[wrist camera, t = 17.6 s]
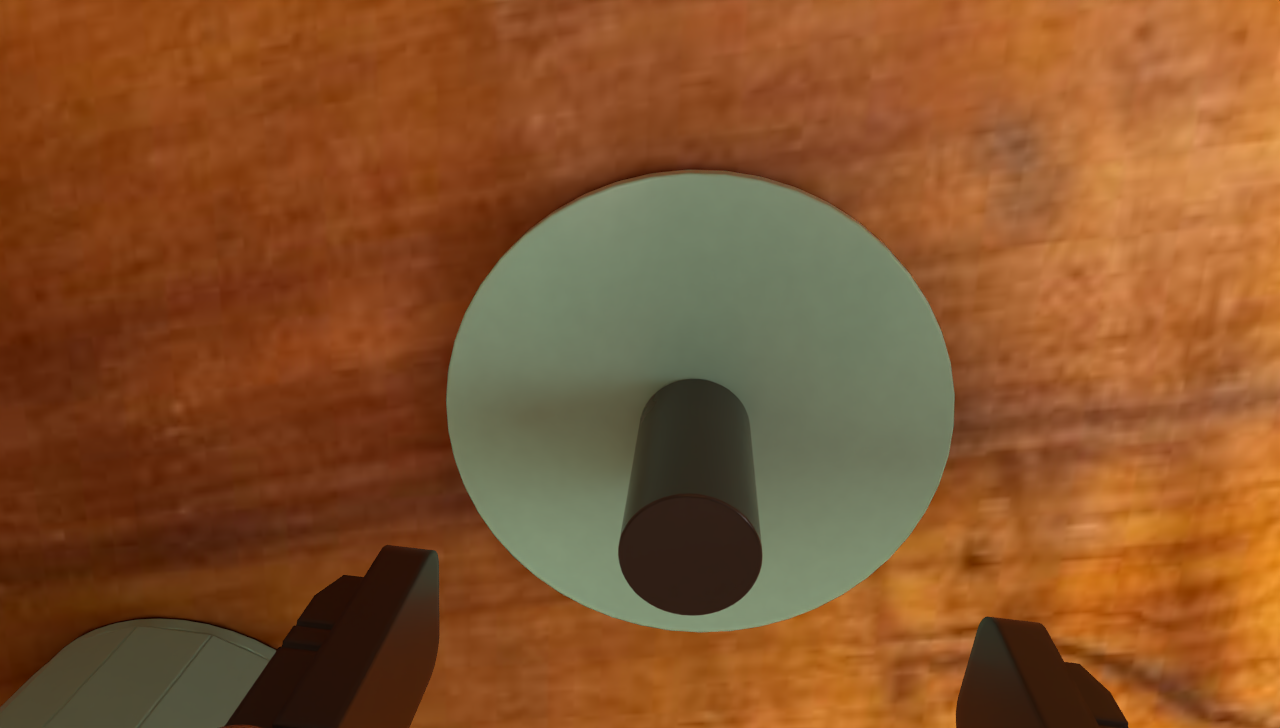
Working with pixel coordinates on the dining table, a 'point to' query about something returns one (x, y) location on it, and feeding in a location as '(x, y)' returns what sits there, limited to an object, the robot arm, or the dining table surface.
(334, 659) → the robot arm
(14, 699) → the tin
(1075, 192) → the dining table surface
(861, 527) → the tin lid
